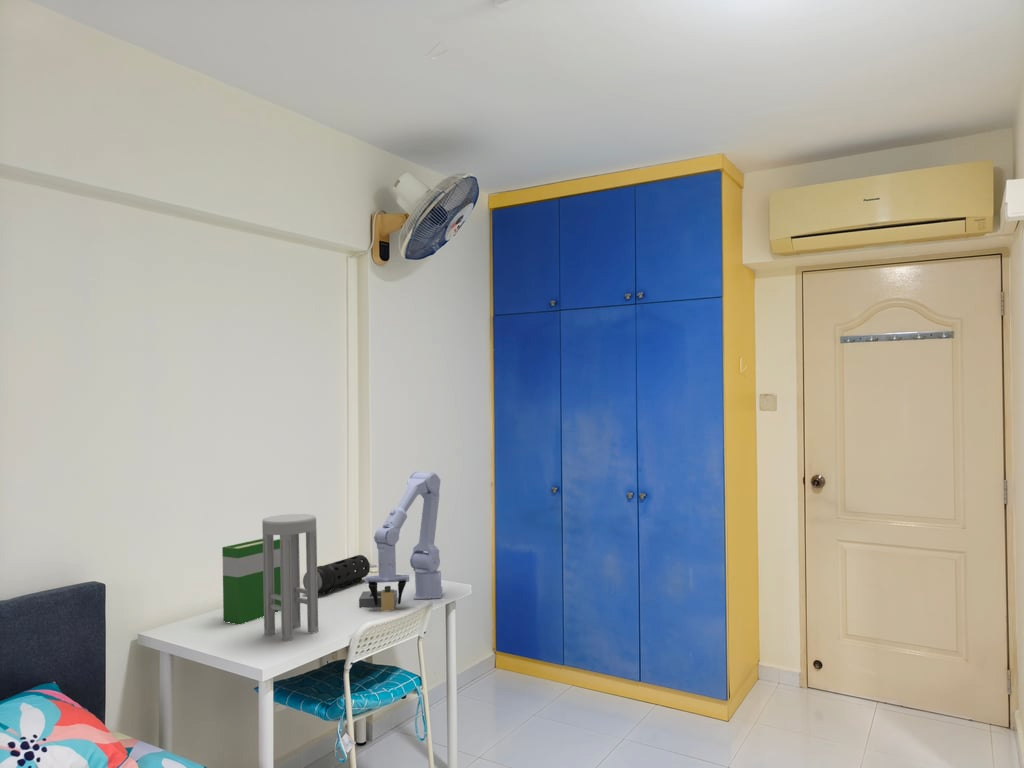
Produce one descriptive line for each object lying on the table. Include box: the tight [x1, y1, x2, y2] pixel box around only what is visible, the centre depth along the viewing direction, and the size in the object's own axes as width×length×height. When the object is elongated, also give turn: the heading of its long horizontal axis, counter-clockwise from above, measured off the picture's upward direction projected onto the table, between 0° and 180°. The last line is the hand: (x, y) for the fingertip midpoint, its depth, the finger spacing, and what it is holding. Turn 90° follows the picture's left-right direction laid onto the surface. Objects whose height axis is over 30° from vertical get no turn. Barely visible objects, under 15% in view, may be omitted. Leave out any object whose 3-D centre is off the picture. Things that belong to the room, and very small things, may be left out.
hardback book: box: [221, 538, 281, 625], centre depth 243 cm, size 18×7×24 cm, turn 150°
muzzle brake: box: [302, 554, 371, 595], centre depth 277 cm, size 10×28×10 cm, turn 153°
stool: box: [261, 513, 319, 642], centre depth 223 cm, size 16×16×35 cm
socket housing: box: [358, 589, 398, 609], centre depth 254 cm, size 12×10×3 cm
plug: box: [380, 585, 396, 612], centre depth 247 cm, size 4×4×8 cm
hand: (387, 603), depth 246 cm, fingers open, 7 cm apart
